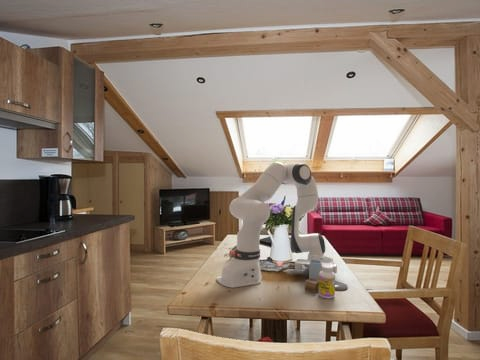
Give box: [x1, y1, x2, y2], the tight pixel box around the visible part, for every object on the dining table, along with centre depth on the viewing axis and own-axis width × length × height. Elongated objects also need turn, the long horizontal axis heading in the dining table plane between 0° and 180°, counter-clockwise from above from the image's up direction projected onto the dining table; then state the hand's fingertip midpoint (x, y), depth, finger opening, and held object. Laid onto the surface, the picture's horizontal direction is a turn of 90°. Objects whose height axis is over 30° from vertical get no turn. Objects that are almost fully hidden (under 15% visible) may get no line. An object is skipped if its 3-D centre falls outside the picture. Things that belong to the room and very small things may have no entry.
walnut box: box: [304, 278, 319, 293], centre depth 136 cm, size 5×5×4 cm
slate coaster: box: [335, 280, 349, 292], centre depth 140 cm, size 10×10×1 cm
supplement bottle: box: [318, 265, 336, 300], centre depth 129 cm, size 7×7×13 cm
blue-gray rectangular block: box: [308, 259, 322, 280], centre depth 145 cm, size 6×6×10 cm
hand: (315, 271), depth 144 cm, fingers open, 8 cm apart
